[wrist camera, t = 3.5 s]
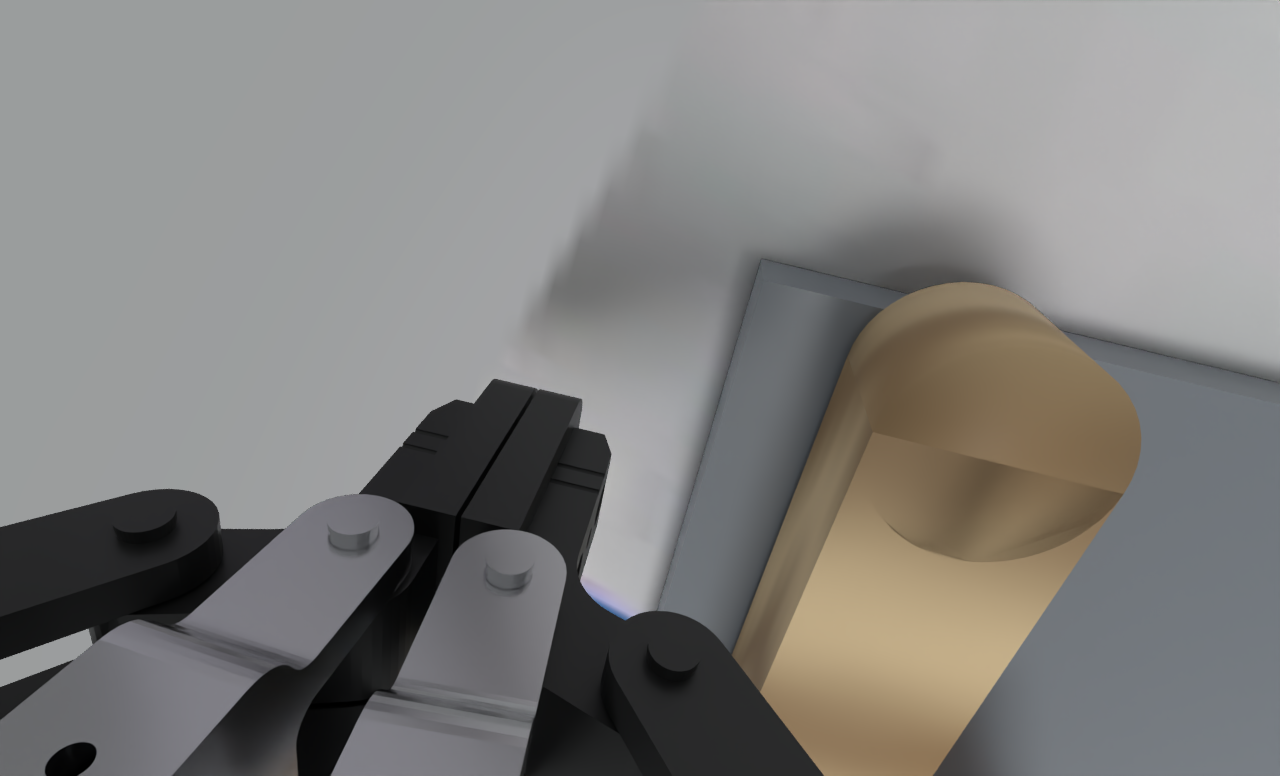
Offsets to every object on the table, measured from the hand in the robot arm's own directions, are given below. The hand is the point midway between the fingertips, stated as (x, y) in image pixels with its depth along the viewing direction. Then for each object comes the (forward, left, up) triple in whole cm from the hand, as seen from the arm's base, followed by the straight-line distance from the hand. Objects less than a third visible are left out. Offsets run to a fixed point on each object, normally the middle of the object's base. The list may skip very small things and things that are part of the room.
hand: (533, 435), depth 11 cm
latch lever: (+6, +7, -3) cm, 10 cm away
